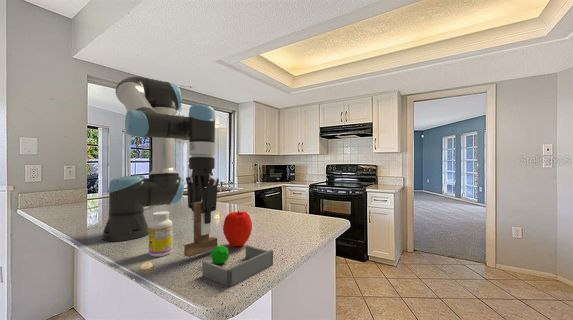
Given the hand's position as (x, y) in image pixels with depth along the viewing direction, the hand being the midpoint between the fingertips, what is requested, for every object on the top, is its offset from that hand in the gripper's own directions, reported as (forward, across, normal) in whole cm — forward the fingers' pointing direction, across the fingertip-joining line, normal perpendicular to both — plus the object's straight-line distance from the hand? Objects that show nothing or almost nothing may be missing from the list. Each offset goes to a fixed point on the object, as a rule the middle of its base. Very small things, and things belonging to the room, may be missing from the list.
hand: (201, 232), depth 77 cm
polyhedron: (+7, +9, 0) cm, 11 cm away
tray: (+7, +17, 0) cm, 18 cm away
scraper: (+6, 0, 0) cm, 6 cm away
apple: (+7, +2, +13) cm, 15 cm away
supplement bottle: (+7, -12, -6) cm, 16 cm away
